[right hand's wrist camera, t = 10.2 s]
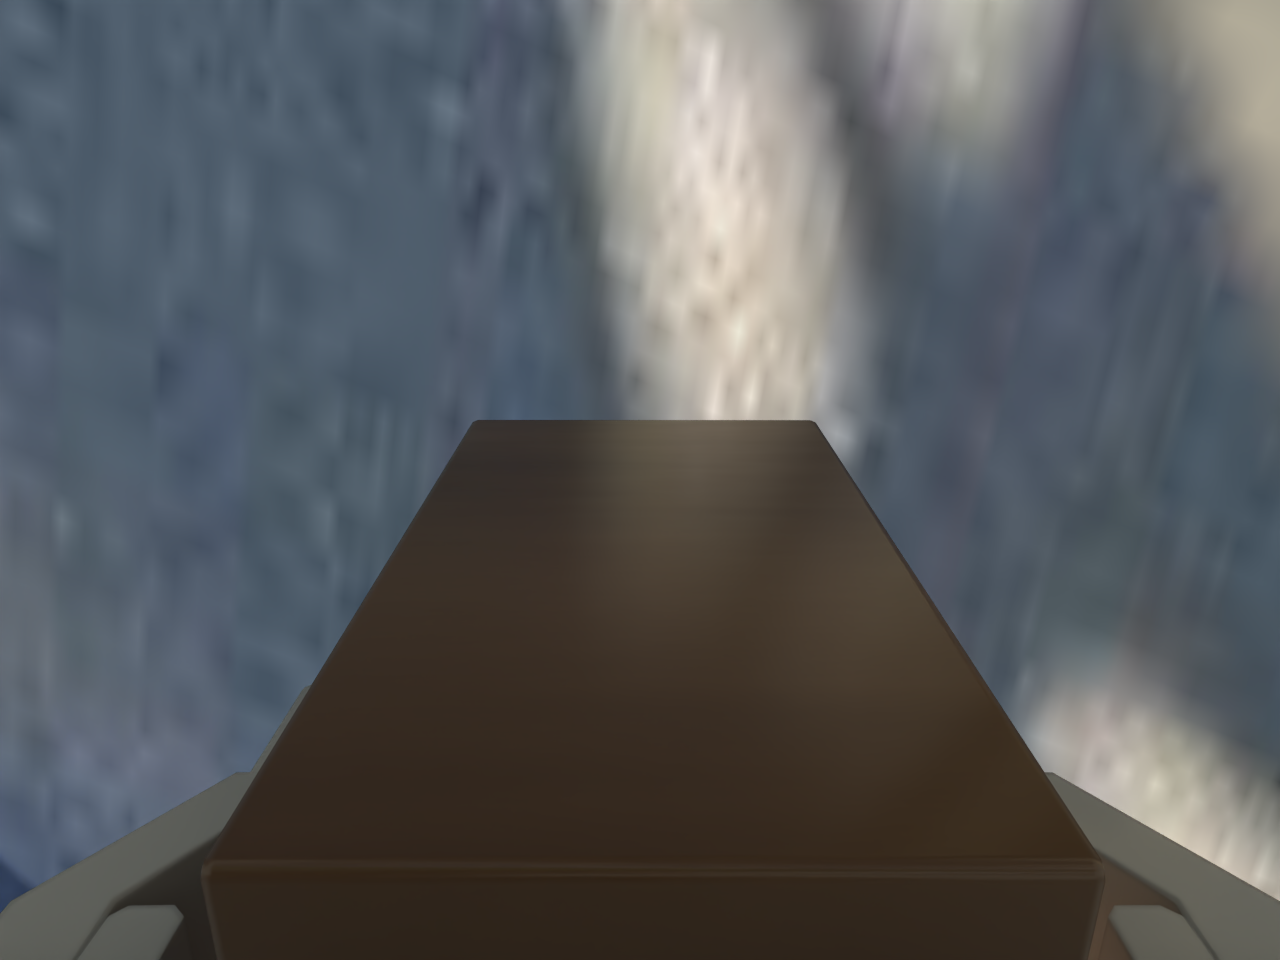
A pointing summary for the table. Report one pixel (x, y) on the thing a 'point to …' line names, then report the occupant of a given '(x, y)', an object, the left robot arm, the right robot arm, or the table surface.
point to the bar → (650, 731)
